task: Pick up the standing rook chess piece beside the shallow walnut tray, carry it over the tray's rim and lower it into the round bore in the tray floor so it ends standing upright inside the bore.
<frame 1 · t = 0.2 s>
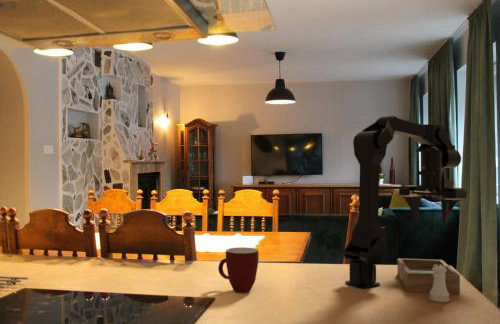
hand: (430, 221, 136), 14 cm above the kitchen counter, tool pointing down, fingers open, 9 cm apart
rook chess piece: (439, 301, 108), on the kitchen counter
mug: (237, 291, 116), on the kitchen counter
bore tray: (426, 283, 123), on the kitchen counter
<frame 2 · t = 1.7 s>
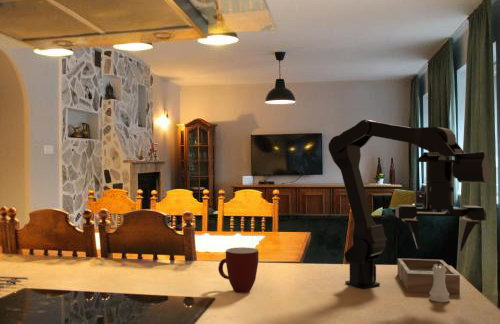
hand: (439, 249, 108), 12 cm above the kitchen counter, tool pointing down, fingers open, 9 cm apart
nothing on the kitchen counter moved.
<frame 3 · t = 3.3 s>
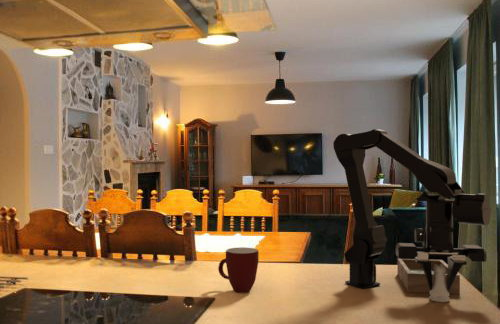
hand: (439, 289, 108), 2 cm above the kitchen counter, tool pointing down, fingers closed on rook chess piece, 3 cm apart
rook chess piece: (439, 300, 108), on the kitchen counter, touching gripper
everything else where it was.
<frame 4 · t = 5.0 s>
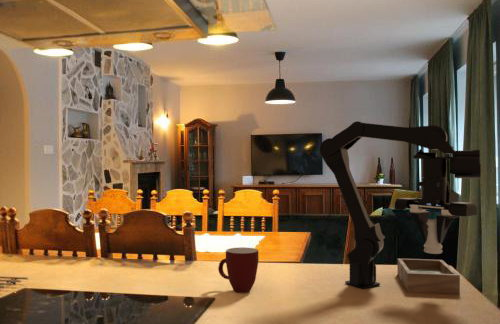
hand: (433, 242, 114), 12 cm above the kitchen counter, tool pointing down, fingers closed on rook chess piece, 3 cm apart
rook chess piece: (432, 253, 114), point 10 cm above the kitchen counter, touching gripper
everything else where it was.
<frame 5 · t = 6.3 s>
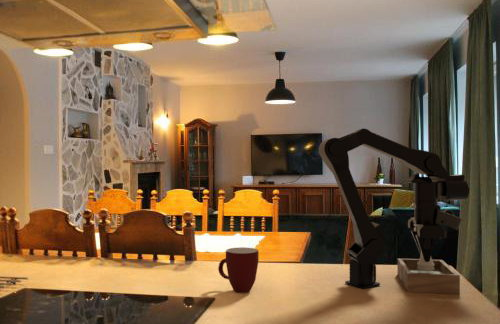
hand: (425, 260, 123), 6 cm above the kitchen counter, tool pointing down, fingers closed on rook chess piece, 3 cm apart
rook chess piece: (425, 270, 123), point 3 cm above the kitchen counter, touching gripper
everything else where it was.
when the fingers open (3 cm above the kitchen counter, at t = 7.1 s): rook chess piece stays where it is, resting in bore tray.
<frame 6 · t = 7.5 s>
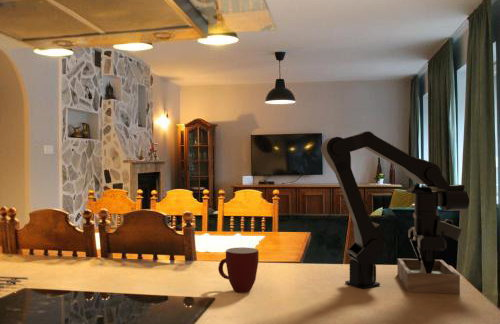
hand: (426, 270, 123), 3 cm above the kitchen counter, tool pointing down, fingers open, 7 cm apart
rook chess piece: (425, 284, 123), resting in bore tray
everything else where it was.
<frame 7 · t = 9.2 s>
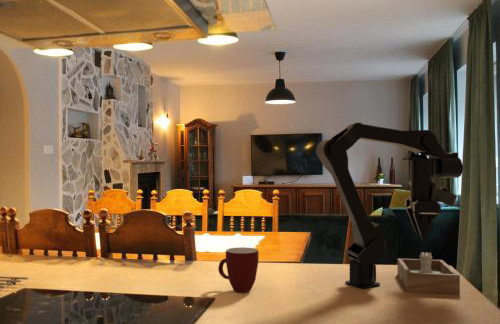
hand: (421, 236, 124), 12 cm above the kitchen counter, tool pointing down, fingers open, 9 cm apart
nothing on the kitchen counter moved.
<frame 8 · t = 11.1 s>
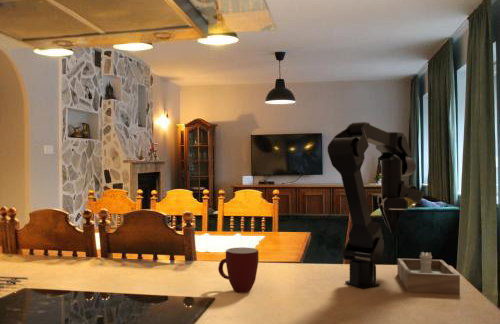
hand: (391, 231, 134), 12 cm above the kitchen counter, tool pointing down, fingers open, 9 cm apart
nothing on the kitchen counter moved.
at the end: rook chess piece 0.1 cm from the bore tray (horizontally); rook chess piece resting in bore tray; rook chess piece tilted 0° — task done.
